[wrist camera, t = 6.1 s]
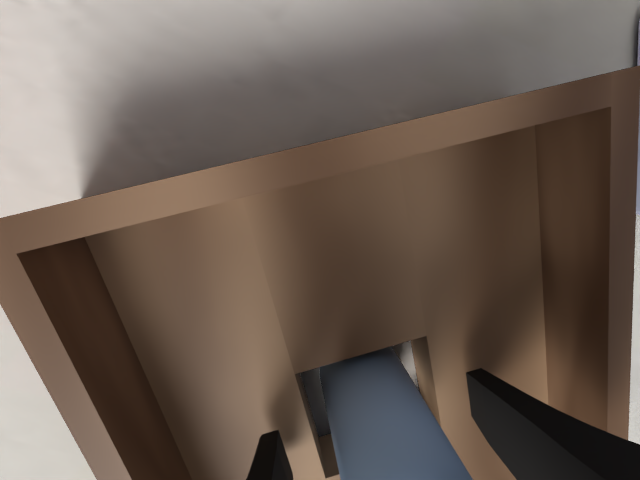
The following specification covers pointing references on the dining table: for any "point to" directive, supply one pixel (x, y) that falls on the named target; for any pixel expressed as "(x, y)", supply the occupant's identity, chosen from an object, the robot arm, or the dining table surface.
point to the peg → (384, 423)
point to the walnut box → (340, 283)
